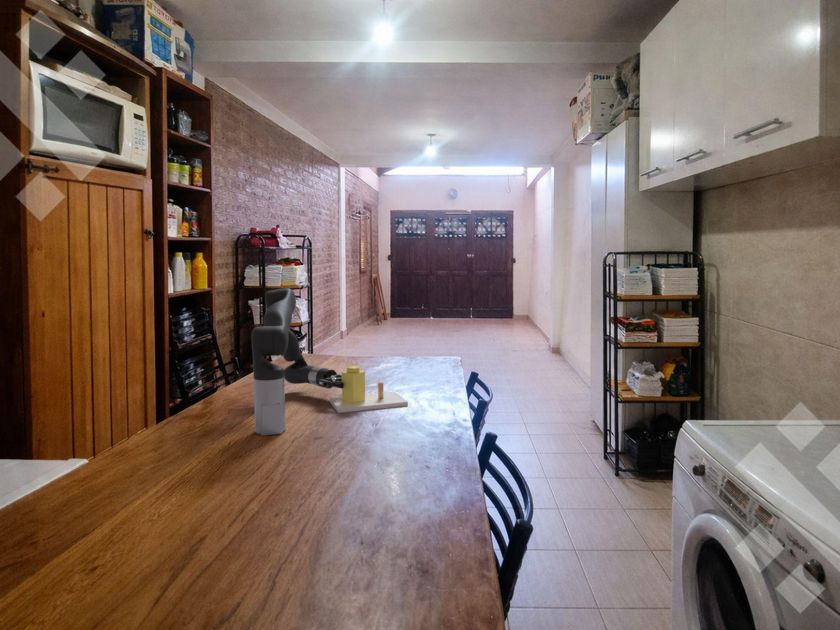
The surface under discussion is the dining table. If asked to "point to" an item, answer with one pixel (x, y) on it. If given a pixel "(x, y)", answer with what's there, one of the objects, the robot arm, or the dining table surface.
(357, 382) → the tall yellow stud brick
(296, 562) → the dining table surface
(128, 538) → the dining table surface
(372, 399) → the plate
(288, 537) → the dining table surface
